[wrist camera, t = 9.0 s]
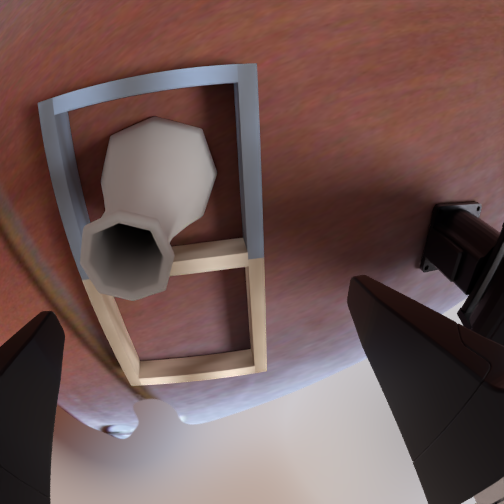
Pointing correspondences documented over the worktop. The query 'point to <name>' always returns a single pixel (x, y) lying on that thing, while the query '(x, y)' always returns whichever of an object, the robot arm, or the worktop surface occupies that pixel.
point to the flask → (146, 205)
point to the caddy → (186, 256)
